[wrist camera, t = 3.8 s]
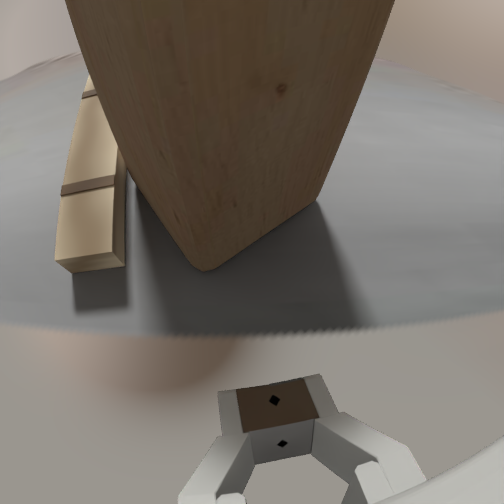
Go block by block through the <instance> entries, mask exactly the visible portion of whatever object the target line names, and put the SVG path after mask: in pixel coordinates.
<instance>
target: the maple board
mask: <svg viewBox="0 0 504 504" xmlns="http://www.w3.org/2000/svg"><path fill="white" fill-rule="evenodd" d="M126 169H127V166H126V164H125V162H124V159H123V157H122V155H121V152H120V150H119V148H118V145H117V143H116V141H115V138H114V136H113V133H112V131H111V129H110V126H109V124H108V121H107V119H106V116H105V114H104V111H103V109H102V106H101V104H100V101H99V98H98V96H97V93H96V90H95V88H94V85H93V82H92V80H91V77H90V74H89V77H88V80H87V84H86V87H85V90H84V92H83V95H82V101H81V104H80V108H79V112H78V115H77V119H76V123H75V127H74V132H73V136H72V140H71V145H70V150H69V155H68V160H67V165H66V170H65V176H64V182H63V185H62V189H61V202H60V209H59V217H58V226H57V236H56V248H55V261H56V262H57V263H59V264H60V265H61V266H63V267H64V268H65V269H67V270H68V271H69V272H71V273H78V272H85V271H93V270H100V269H107V268H115V267H122V266H125V241H124V233H125V189H126Z"/></svg>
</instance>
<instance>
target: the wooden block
mask: <svg viewBox="0 0 504 504" xmlns="http://www.w3.org/2000/svg"><path fill="white" fill-rule="evenodd" d="M394 1H395V0H65V2H66V5H67V9H68V12H69V15H70V18H71V22H72V25H73V28H74V31H75V34H76V37H77V40H78V43H79V46H80V49H81V52H82V55H83V58H84V60H85V63H86V66H87V69H88V72H89V74H90V77H91V80H92V82H93V85H94V88H95V90H96V93H97V96H98V98H99V101H100V104H101V106H102V109H103V111H104V114H105V116H106V119H107V121H108V124H109V126H110V129H111V131H112V133H113V136H114V138H115V141H116V143H117V145H118V148H119V150H120V152H121V155H122V157H123V159H124V162H125V164H126V166H127V169H128V171H129V173H130V175H131V178H132V179H133V181H134V182H135V184H136V185H137V187H138V188H139V190H140V191H141V193H142V194H143V196H144V197H145V199H146V200H147V202H148V203H149V205H150V206H151V207H152V209H153V210H154V212H155V213H156V215H157V216H158V218H159V219H160V221H161V222H162V224H163V225H164V226H165V228H166V229H167V231H168V232H169V234H170V235H171V237H172V238H173V239H174V241H175V242H176V244H177V245H178V246H179V248H180V249H181V251H182V252H183V254H184V255H185V256H186V258H187V259H188V261H189V262H190V263H191V265H192V266H194V267H196V268H197V269H199V270H201V271H202V272H205V271H208V270H212V269H216V268H217V267H218V266H220V265H221V264H223V263H224V262H226V261H227V260H229V259H230V258H232V257H233V256H234V255H236V254H237V253H239V252H240V251H242V250H243V249H245V248H246V247H248V246H249V245H251V244H252V243H253V242H255V241H256V240H258V239H259V238H261V237H262V236H264V235H265V234H267V233H268V232H270V231H271V230H272V229H274V228H275V227H277V226H278V225H280V224H281V223H283V222H284V221H286V220H287V219H289V218H290V217H292V216H293V215H294V214H296V213H297V212H299V211H300V210H302V209H303V208H305V207H306V206H308V205H309V204H311V203H312V202H314V201H315V200H316V198H317V197H318V195H319V193H320V191H321V188H322V186H323V184H324V181H325V179H326V177H327V174H328V172H329V170H330V167H331V165H332V162H333V160H334V158H335V155H336V153H337V150H338V148H339V145H340V143H341V141H342V138H343V136H344V133H345V131H346V128H347V126H348V123H349V121H350V118H351V116H352V113H353V111H354V108H355V106H356V103H357V101H358V98H359V96H360V93H361V91H362V88H363V85H364V83H365V80H366V78H367V75H368V72H369V70H370V67H371V65H372V62H373V59H374V57H375V54H376V51H377V49H378V46H379V43H380V40H381V38H382V35H383V32H384V29H385V27H386V24H387V21H388V18H389V16H390V13H391V10H392V7H393V4H394Z"/></svg>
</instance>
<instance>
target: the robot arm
mask: <svg viewBox="0 0 504 504" xmlns="http://www.w3.org/2000/svg"><path fill="white" fill-rule="evenodd" d="M236 395H237V396H236ZM237 400H238V401H237ZM218 403H219V412H220V420H221V428H222V436H220V437H217V438H216V440H215V442H214V443H213V444H212V446H211V448H210V449H209V451H208V452H207V454H206V455H205V457H204V458H203V460H202V461H201V463H200V464H199V466H198V467H197V469H196V470H195V472H194V473H193V475H192V477H191V478H190V479H189V481H188V482H187V484H186V485H185V487H184V488H183V490H182V491H181V493H180V494H179V496H178V504H247V503H246V499H245V496H243V495H242V493H243V491H244V489H245V487H246V484H247V482H248V480H249V478H250V476H251V474H252V471H253V469H254V467H255V465H256V464H261V463H266V462H271V461H276V460H280V459H285V458H290V457H296V456H301V455H306V454H310V453H311V455H312V456H313V457H315V458H316V459H317V460H318V461H320V462H321V463H322V464H324V465H325V466H326V467H327V468H329V469H330V470H331V471H333V472H334V473H335V474H336V475H338V476H339V477H341V478H342V479H343V480H345V481H346V482H347V483H348V484H349V487H348V489H347V492H346V494H345V496H344V499H343V501H342V504H504V435H503V436H502V437H500V438H499V439H497V440H496V441H495V442H493V443H492V444H490V445H489V446H487V447H486V448H484V449H482V450H481V451H479V452H478V453H476V454H474V455H473V456H471V457H470V458H468V459H466V460H464V461H463V462H461V463H459V464H457V465H455V466H454V467H452V468H450V469H448V470H446V471H445V472H443V473H441V474H439V475H437V476H435V477H433V478H431V479H429V480H427V479H426V477H425V476H424V474H423V472H422V470H421V469H420V467H419V465H418V463H417V462H416V460H415V459H414V457H413V455H412V453H411V451H410V450H409V448H408V446H406V445H404V444H402V443H400V442H398V441H396V440H394V439H392V438H390V437H389V436H386V435H384V434H383V433H381V432H379V431H377V430H375V429H374V428H372V427H370V426H368V425H366V424H364V423H363V422H361V421H359V420H357V419H355V418H354V417H352V416H350V415H348V414H347V413H345V412H341V413H339V412H338V410H337V408H336V406H335V404H334V402H333V400H332V397H331V395H330V393H329V391H328V389H327V387H326V385H325V383H324V381H323V379H322V376H321V375H320V374H316V375H311V376H307V377H303V378H297V379H292V380H288V381H282V382H277V383H272V384H269V385H263V386H256V387H249V388H241V389H236V391H235V390H227V391H219V392H218ZM238 406H239V407H238Z"/></svg>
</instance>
